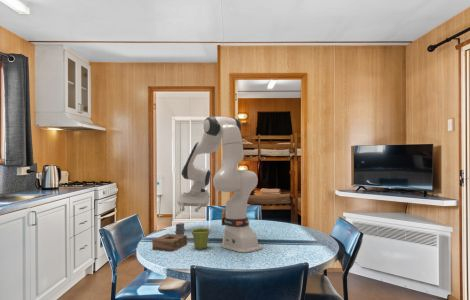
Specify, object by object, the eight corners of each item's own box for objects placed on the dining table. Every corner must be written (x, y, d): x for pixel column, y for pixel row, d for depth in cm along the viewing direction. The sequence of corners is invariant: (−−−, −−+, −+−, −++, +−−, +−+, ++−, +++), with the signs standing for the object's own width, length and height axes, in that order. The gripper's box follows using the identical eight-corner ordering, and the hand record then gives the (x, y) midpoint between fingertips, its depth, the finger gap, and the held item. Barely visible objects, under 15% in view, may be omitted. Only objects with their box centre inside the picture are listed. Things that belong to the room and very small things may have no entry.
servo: (180, 236, 189) (180, 221, 190) (185, 236, 188) (185, 221, 188) (175, 238, 183) (174, 223, 183) (179, 239, 182) (179, 223, 182)
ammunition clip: (222, 225, 219) (222, 207, 219) (221, 224, 221) (221, 207, 221) (237, 224, 222) (237, 206, 223) (236, 223, 224) (236, 206, 224)
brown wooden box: (167, 242, 176) (167, 233, 176) (186, 244, 172) (186, 235, 172) (152, 249, 163) (152, 240, 163) (173, 251, 159) (173, 241, 159)
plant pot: (192, 250, 159) (192, 233, 160) (190, 245, 168) (190, 229, 169) (211, 249, 162) (211, 231, 162) (208, 244, 171) (208, 228, 171)
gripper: (180, 189, 207) (172, 207, 198) (209, 190, 200) (202, 208, 191) (183, 195, 211) (176, 213, 202) (212, 196, 205) (205, 214, 195)
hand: (189, 210), depth 196 cm, fingers open, 8 cm apart
